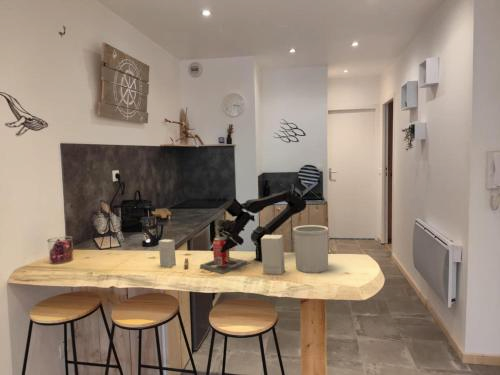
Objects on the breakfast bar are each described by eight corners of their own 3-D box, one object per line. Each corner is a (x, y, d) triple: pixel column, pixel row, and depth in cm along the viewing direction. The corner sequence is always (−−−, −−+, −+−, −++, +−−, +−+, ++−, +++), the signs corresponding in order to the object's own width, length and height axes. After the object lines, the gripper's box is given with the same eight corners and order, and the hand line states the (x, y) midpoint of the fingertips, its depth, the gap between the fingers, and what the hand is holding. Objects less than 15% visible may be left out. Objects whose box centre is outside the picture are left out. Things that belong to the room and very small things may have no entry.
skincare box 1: (176, 265, 169) (174, 239, 168) (170, 267, 165) (169, 241, 164) (165, 263, 172) (164, 238, 170) (159, 266, 168) (158, 241, 167)
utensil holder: (288, 265, 162) (287, 226, 160) (317, 260, 167) (316, 223, 165) (305, 275, 148) (304, 233, 146) (336, 270, 154) (335, 229, 152)
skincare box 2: (285, 270, 155) (284, 234, 154) (281, 275, 149) (280, 238, 148) (266, 269, 158) (265, 234, 157) (261, 274, 152) (260, 237, 150)
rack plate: (247, 264, 166) (247, 260, 166) (222, 274, 154) (222, 270, 154) (225, 259, 175) (225, 255, 175) (200, 268, 163) (200, 264, 163)
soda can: (228, 261, 167) (227, 235, 166) (230, 265, 160) (229, 239, 159) (213, 262, 166) (211, 237, 165) (214, 267, 159) (213, 240, 158)
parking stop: (185, 262, 172) (184, 258, 172) (188, 262, 172) (188, 258, 172) (184, 269, 162) (184, 264, 162) (187, 269, 162) (187, 264, 162)
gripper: (219, 209, 171) (198, 235, 167) (235, 215, 154) (212, 244, 150) (236, 223, 175) (215, 249, 171) (253, 230, 158) (231, 259, 155)
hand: (218, 250), depth 162 cm, fingers closed on soda can, 6 cm apart
